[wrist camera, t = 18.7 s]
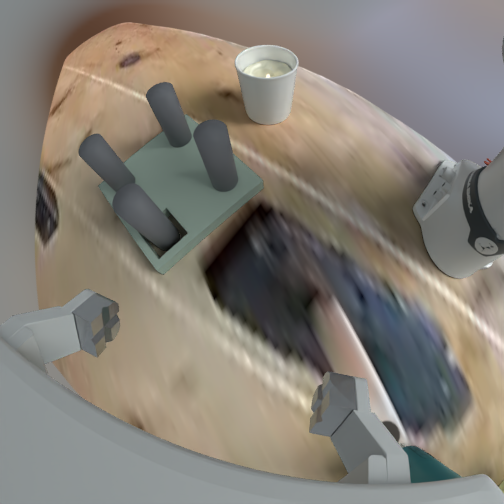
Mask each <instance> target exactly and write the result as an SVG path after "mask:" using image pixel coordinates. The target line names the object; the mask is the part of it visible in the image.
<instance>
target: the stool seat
mask: <svg viewBox="0 0 504 504" xmlns="http://www.w3.org/2000/svg"><path fill="white" fill-rule="evenodd" d="M146 98H147V100H148V102H149V104H150V106H151V108H152V110H153V112H154V114H155V116H156V118H157V120H158V122H159V124H160V126H161V127H162V129H163V131H162V132H161V133H160V134H159V135H157V136H156V137H155V138H153V139H152V140H151V141H150V142H148V143H147V144H146V145H144V146H143V147H142V148H141V149H140V150H138V151H137V152H136V153H135V154H133V155H132V156H131V157H130V158H129V159H128V160H126V161H125V162H124V163H123V162H122V161H121V160H120V158H119V157H118V156H117V155H116V153H115V152H114V151H113V150H112V148H111V147H110V146H109V145H108V143H107V142H106V141H105V140H104V138H103V137H102V136H101V135H100V134H93V135H91V136H89V137H87V138H86V139H85V140H84V141H83V142H82V144H81V146H80V148H79V156H80V157H81V158H82V159H83V160H84V161H85V162H86V163H87V164H88V165H89V166H90V167H91V168H92V169H93V170H94V171H95V172H96V173H97V174H98V175H99V176H100V177H101V178H102V179H103V180H104V181H103V182H102V183H101V184H100V185H99V188H100V190H101V191H102V193H103V194H104V196H105V197H106V199H107V200H108V202H109V204H110V205H111V207H112V208H113V206H112V202H113V198H114V196H115V194H116V192H117V191H118V190H119V189H120V188H121V187H123V186H124V185H127V184H131V183H134V184H137V185H139V186H140V187H141V188H142V189H143V190H144V191H145V193H146V194H147V195H148V196H149V197H150V198H151V200H152V201H153V202H154V203H155V204H156V205H157V207H158V208H159V209H160V210H161V211H162V212H163V213H164V215H165V216H166V217H167V218H168V217H169V216H170V215H171V214H172V215H173V216H174V217H175V219H176V220H177V221H178V222H179V223H180V225H181V226H182V227H183V228H184V229H185V230H186V232H187V233H188V234H187V235H185V236H184V237H183V238H182V239H181V240H180V241H179V242H178V243H176V244H175V245H174V246H173V247H172V248H171V249H170V250H169V251H167V252H166V253H165V254H164V255H163V256H162V257H161V258H160V257H159V255H158V254H157V253H156V251H155V250H154V249H153V247H152V246H151V245H150V243H149V242H148V241H147V239H146V238H145V236H143V235H142V234H141V233H140V232H138V231H137V230H136V229H135V228H133V227H132V226H131V225H130V224H128V223H127V222H126V221H125V220H123V219H122V218H121V217H120V216H119V215H117V216H118V217H119V219H120V220H121V221H122V223H123V224H124V226H125V227H126V229H127V230H128V232H129V233H130V234H131V236H132V237H133V239H134V240H135V242H136V243H137V244H138V246H139V247H140V249H141V250H142V251H143V253H144V254H145V255H146V257H147V258H148V260H149V261H150V262H151V264H152V265H153V266H154V268H155V269H156V270H157V271H158V272H160V273H161V274H163V275H164V274H165V273H166V272H167V271H168V270H169V269H170V268H171V267H173V266H174V265H175V264H176V263H177V262H178V261H179V260H180V259H181V258H183V257H184V256H185V255H186V254H187V253H188V252H189V251H190V250H192V249H193V248H194V247H195V246H196V245H197V244H198V243H200V242H201V241H202V240H203V239H204V238H205V237H206V236H208V235H209V234H210V233H211V232H212V231H213V230H215V229H216V228H217V227H218V226H219V225H220V224H222V223H223V222H224V221H225V220H226V219H227V218H229V217H230V216H231V215H232V214H233V213H234V212H236V211H237V210H238V209H239V208H240V207H242V206H243V205H244V204H245V203H246V202H248V201H249V200H250V199H251V198H252V197H254V196H255V195H256V194H257V193H258V192H260V191H261V190H262V189H263V188H264V187H263V180H262V179H261V178H260V177H259V176H258V175H257V174H256V173H254V172H253V171H252V170H251V169H250V168H249V167H248V166H247V165H245V164H244V163H243V162H242V161H241V160H240V159H239V158H238V157H236V156H235V155H234V154H233V152H232V148H231V143H230V139H229V134H228V130H227V126H226V125H225V124H224V123H223V122H222V121H219V120H207V121H204V122H202V123H201V124H198V123H196V122H195V121H194V120H193V119H192V118H190V117H189V116H188V115H187V114H186V115H184V114H183V111H182V108H181V106H180V103H179V101H178V98H177V96H176V93H175V91H174V88H173V85H172V84H171V83H168V82H163V83H159V84H156V85H154V86H153V87H151V88H150V89H149V90H148V92H147V94H146Z"/></svg>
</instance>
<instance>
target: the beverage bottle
mask: <svg viewBox="0 0 504 504" xmlns="http://www.w3.org/2000/svg"><path fill="white" fill-rule="evenodd" d="M402 449H403V450H404V451H405V452H406V454H407V455H408V460H409V470H410V480H411V483H422V482H433V481H441V480H448V479H455V478H461V476H460V475H458V474H456V473H455V472H453V471H452V470H450V469H449V468H447V467H446V466H444V465H443V464H442V463H441V462H439V461H438V460H436V459H435V458H434V457H432V456H431V454H430V455H429V454H428V453H426V452H424V451H425V450H421V449H420V448H418V447H416V446H406V447H403V448H402Z"/></svg>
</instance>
